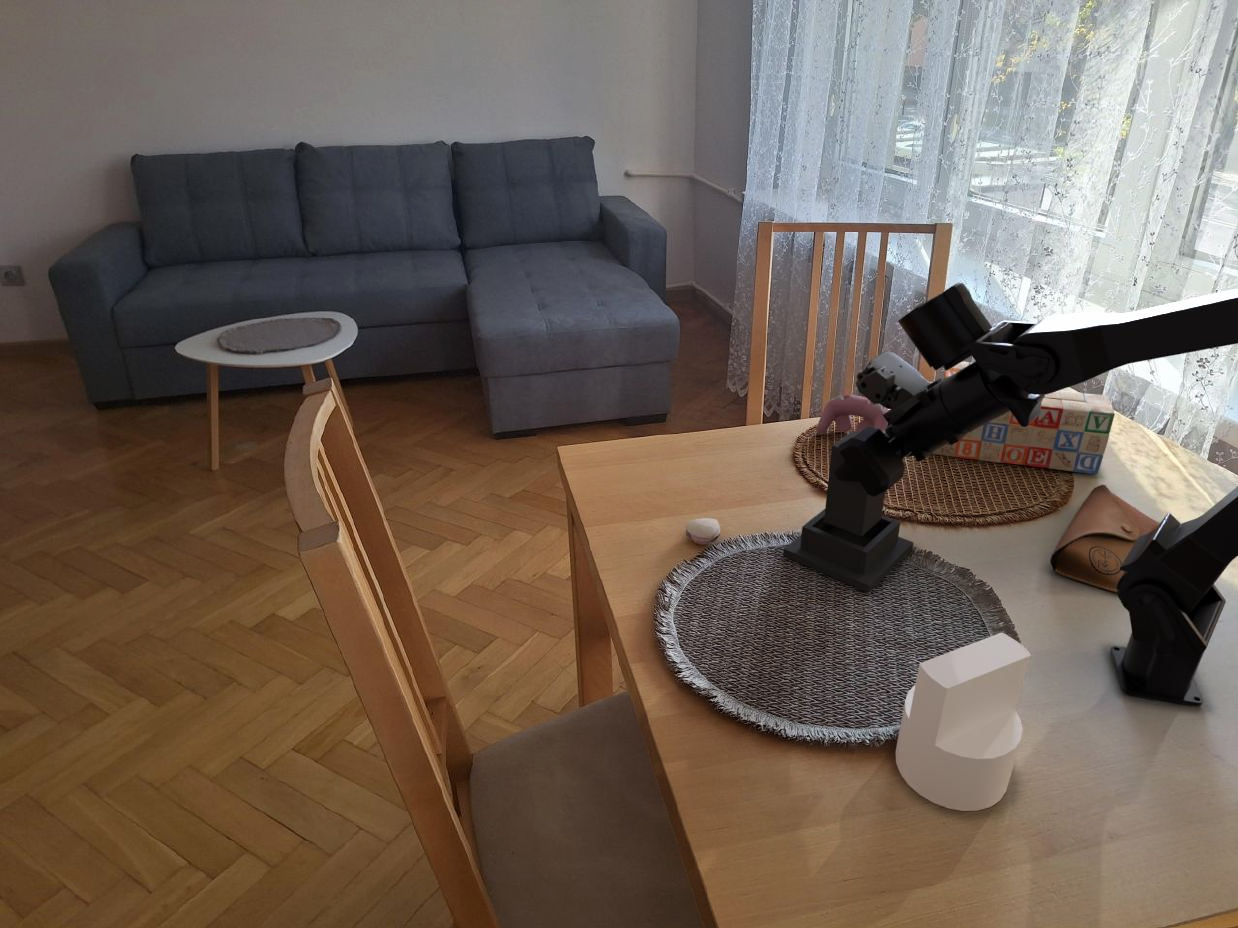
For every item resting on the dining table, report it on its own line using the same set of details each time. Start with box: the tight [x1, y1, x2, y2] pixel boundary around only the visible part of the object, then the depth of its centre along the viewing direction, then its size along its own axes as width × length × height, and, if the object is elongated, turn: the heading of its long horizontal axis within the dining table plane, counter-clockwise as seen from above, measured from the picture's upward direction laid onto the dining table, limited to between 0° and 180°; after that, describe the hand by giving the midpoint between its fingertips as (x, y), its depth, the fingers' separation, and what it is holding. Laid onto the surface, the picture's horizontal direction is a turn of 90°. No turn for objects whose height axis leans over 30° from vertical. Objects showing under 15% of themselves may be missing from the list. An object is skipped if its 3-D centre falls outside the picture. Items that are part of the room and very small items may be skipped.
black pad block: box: [824, 430, 886, 536], centre depth 94 cm, size 5×5×10 cm
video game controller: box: [816, 394, 889, 436], centre depth 123 cm, size 10×5×7 cm, turn 58°
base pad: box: [782, 508, 914, 593], centre depth 97 cm, size 11×11×4 cm
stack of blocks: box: [932, 361, 1116, 475], centre depth 115 cm, size 21×6×12 cm, turn 70°
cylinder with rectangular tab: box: [895, 632, 1032, 812], centre depth 68 cm, size 9×9×12 cm
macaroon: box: [685, 517, 721, 546], centre depth 101 cm, size 4×5×2 cm
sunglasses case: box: [1049, 484, 1161, 594], centre depth 97 cm, size 18×7×7 cm, turn 141°
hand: (847, 467), depth 94 cm, fingers closed on black pad block, 5 cm apart
